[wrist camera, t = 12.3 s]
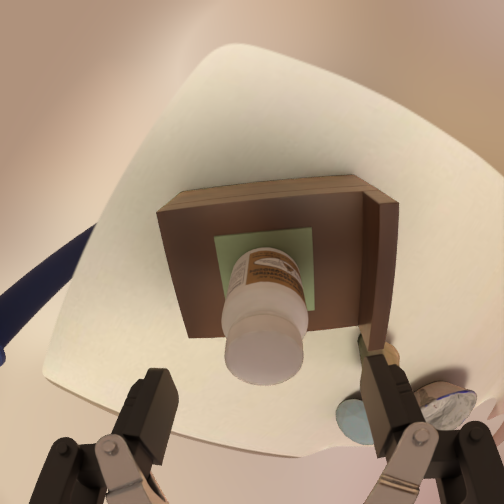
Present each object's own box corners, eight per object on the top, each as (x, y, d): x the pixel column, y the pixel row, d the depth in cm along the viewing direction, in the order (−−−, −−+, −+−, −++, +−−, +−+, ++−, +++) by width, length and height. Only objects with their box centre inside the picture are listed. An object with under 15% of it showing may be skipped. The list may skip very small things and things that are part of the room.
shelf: (202, 297, 28) (179, 365, 19) (181, 191, 24) (137, 227, 16) (354, 284, 26) (384, 349, 18) (354, 174, 22) (399, 202, 14)
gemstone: (410, 409, 29) (393, 433, 26) (378, 436, 33) (360, 457, 30) (369, 373, 34) (348, 392, 31) (343, 403, 38) (322, 421, 35)
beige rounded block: (332, 350, 30) (345, 409, 22) (369, 318, 28) (393, 375, 20) (365, 371, 31) (381, 425, 23) (399, 342, 29) (424, 395, 22)
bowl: (377, 432, 36) (384, 457, 32) (396, 379, 31) (407, 408, 27) (448, 414, 35) (457, 435, 31) (475, 359, 30) (490, 382, 26)
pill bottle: (313, 266, 19) (335, 347, 12) (276, 315, 21) (277, 403, 14) (253, 232, 18) (244, 302, 11) (219, 286, 20) (196, 369, 13)
